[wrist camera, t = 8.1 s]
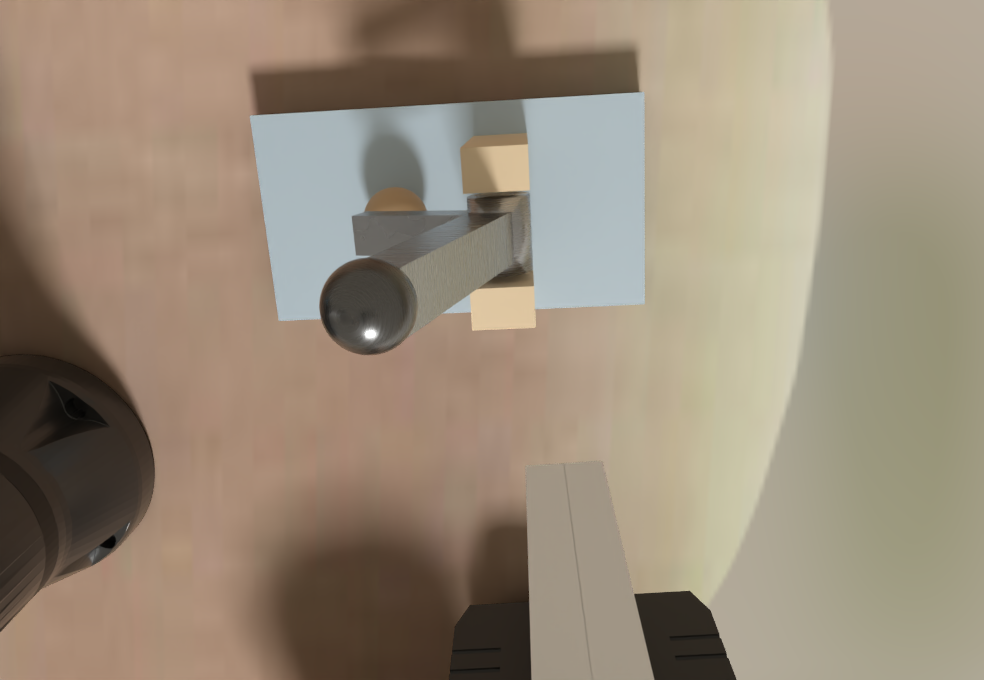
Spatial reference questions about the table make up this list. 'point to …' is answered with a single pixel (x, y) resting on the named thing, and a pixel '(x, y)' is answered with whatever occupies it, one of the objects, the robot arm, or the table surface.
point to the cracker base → (431, 169)
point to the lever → (422, 267)
